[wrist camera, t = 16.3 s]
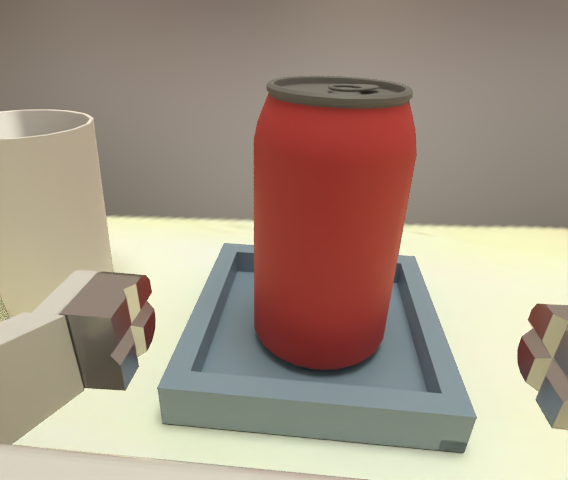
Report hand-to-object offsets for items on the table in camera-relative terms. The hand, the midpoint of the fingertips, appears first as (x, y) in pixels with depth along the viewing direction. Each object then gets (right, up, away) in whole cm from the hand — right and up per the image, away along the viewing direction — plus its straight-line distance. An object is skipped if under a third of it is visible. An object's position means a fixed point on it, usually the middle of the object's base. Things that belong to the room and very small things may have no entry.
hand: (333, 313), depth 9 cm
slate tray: (+1, -4, +13) cm, 13 cm away
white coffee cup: (-14, -2, +16) cm, 21 cm away
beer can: (+1, -3, +13) cm, 13 cm away
